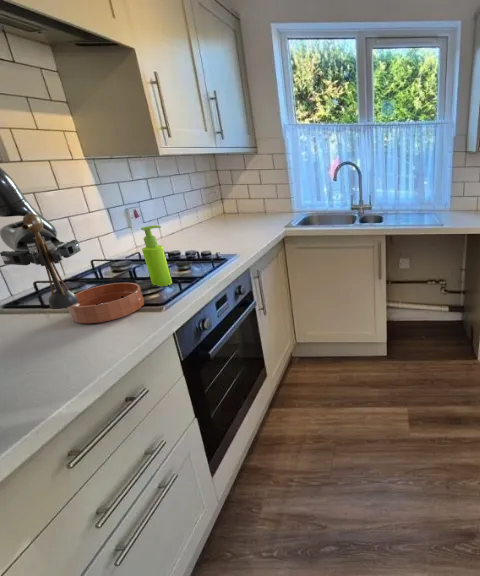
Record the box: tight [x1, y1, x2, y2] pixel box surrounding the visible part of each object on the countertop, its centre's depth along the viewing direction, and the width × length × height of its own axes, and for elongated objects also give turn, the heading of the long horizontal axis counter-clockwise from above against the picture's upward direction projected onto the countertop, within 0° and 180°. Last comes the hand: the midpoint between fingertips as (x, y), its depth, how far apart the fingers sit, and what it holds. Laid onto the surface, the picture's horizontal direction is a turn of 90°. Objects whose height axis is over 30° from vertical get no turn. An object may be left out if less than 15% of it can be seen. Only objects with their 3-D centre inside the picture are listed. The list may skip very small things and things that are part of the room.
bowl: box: [66, 282, 145, 324], centre depth 104 cm, size 17×17×6 cm
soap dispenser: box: [140, 224, 173, 287], centre depth 120 cm, size 6×7×20 cm
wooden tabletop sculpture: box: [22, 213, 78, 310], centre depth 75 cm, size 6×5×20 cm
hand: (49, 259), depth 73 cm, fingers closed on wooden tabletop sculpture, 1 cm apart
